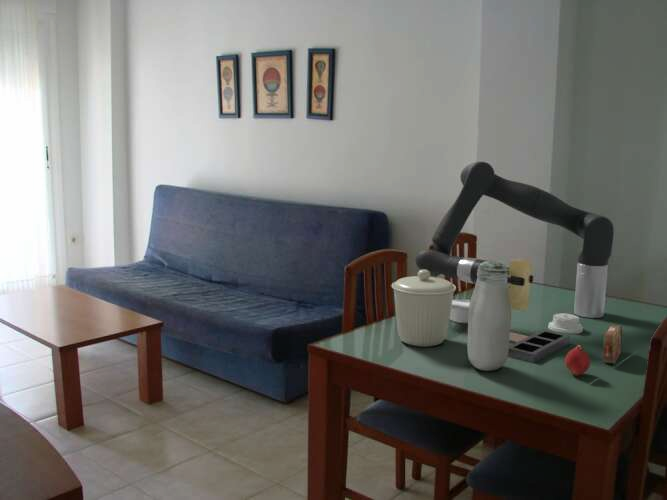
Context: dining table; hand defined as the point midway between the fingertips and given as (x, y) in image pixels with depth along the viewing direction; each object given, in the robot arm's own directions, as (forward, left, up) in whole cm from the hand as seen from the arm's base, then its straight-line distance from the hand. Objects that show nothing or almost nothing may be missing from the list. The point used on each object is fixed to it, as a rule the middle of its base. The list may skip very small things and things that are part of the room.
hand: (528, 280), depth 182 cm
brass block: (-2, -2, -8) cm, 9 cm away
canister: (0, -30, -18) cm, 35 cm away
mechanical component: (-11, +16, -18) cm, 27 cm away
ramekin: (-22, -13, -18) cm, 31 cm away
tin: (+15, +18, -18) cm, 30 cm away
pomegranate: (+27, +4, -18) cm, 33 cm away
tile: (-2, -2, -18) cm, 18 cm away
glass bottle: (+22, -17, -18) cm, 33 cm away
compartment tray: (+8, +1, -18) cm, 20 cm away
